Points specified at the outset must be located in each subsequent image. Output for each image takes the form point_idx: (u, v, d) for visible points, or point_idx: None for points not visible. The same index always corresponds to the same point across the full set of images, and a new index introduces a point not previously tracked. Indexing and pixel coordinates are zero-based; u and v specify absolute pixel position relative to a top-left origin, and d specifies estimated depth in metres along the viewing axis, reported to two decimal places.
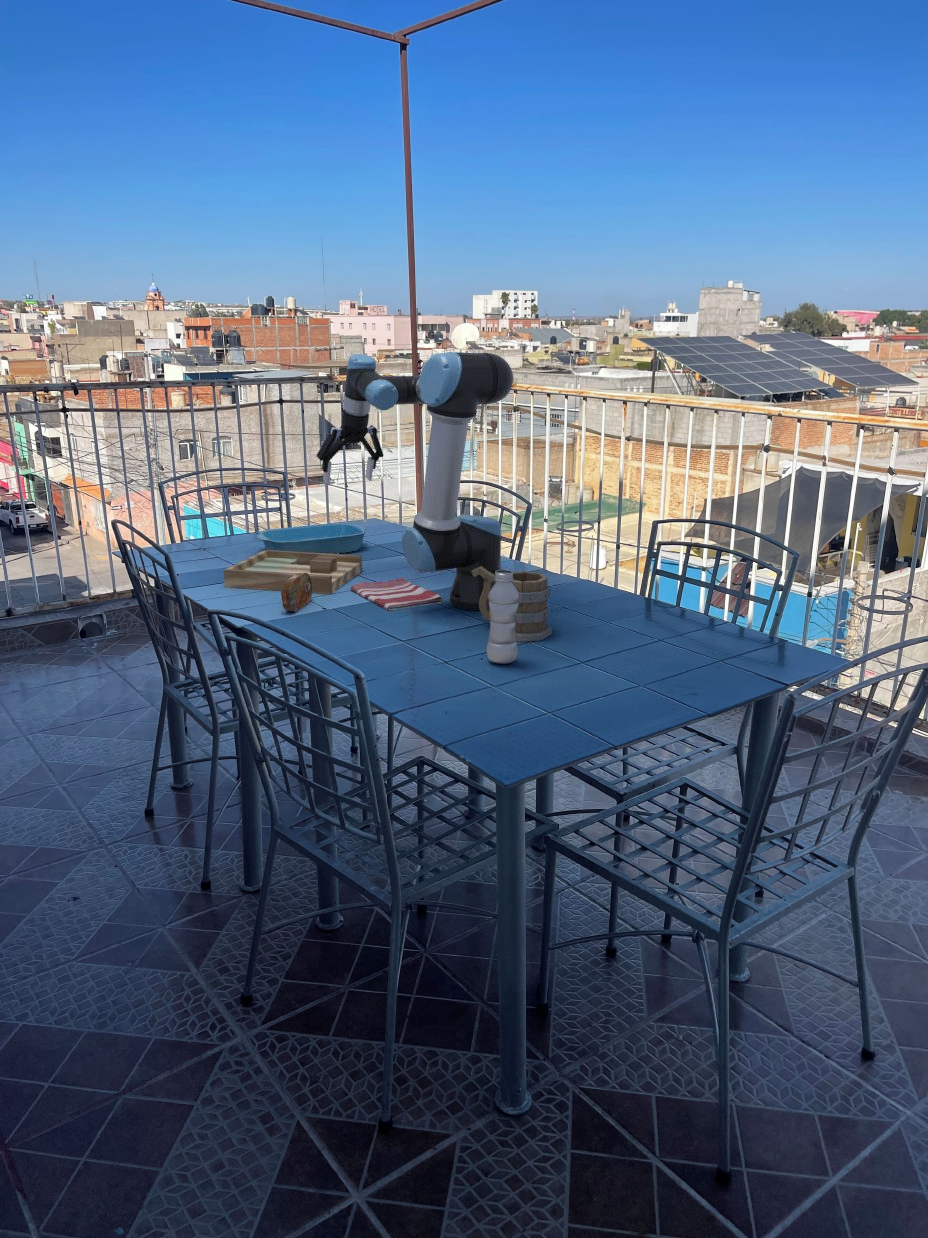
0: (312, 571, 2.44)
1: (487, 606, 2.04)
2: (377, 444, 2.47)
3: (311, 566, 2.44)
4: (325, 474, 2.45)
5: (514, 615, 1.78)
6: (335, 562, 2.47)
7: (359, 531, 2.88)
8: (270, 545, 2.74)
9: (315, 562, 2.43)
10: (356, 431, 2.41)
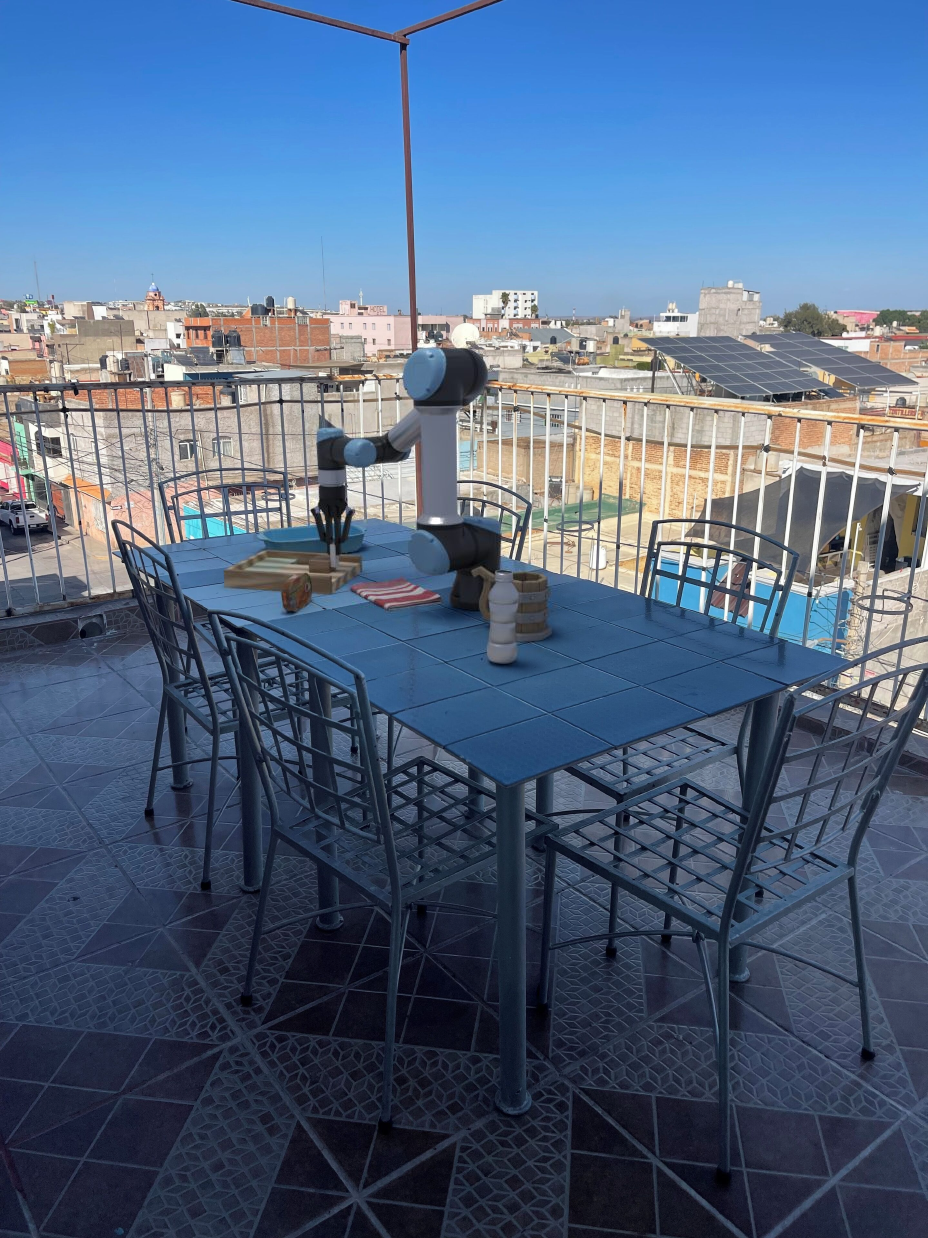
0: (311, 571, 2.44)
1: (487, 606, 2.04)
2: (344, 527, 2.40)
3: (310, 566, 2.44)
4: None
5: (514, 615, 1.78)
6: None
7: (360, 531, 2.88)
8: (269, 545, 2.74)
9: (314, 562, 2.43)
10: None
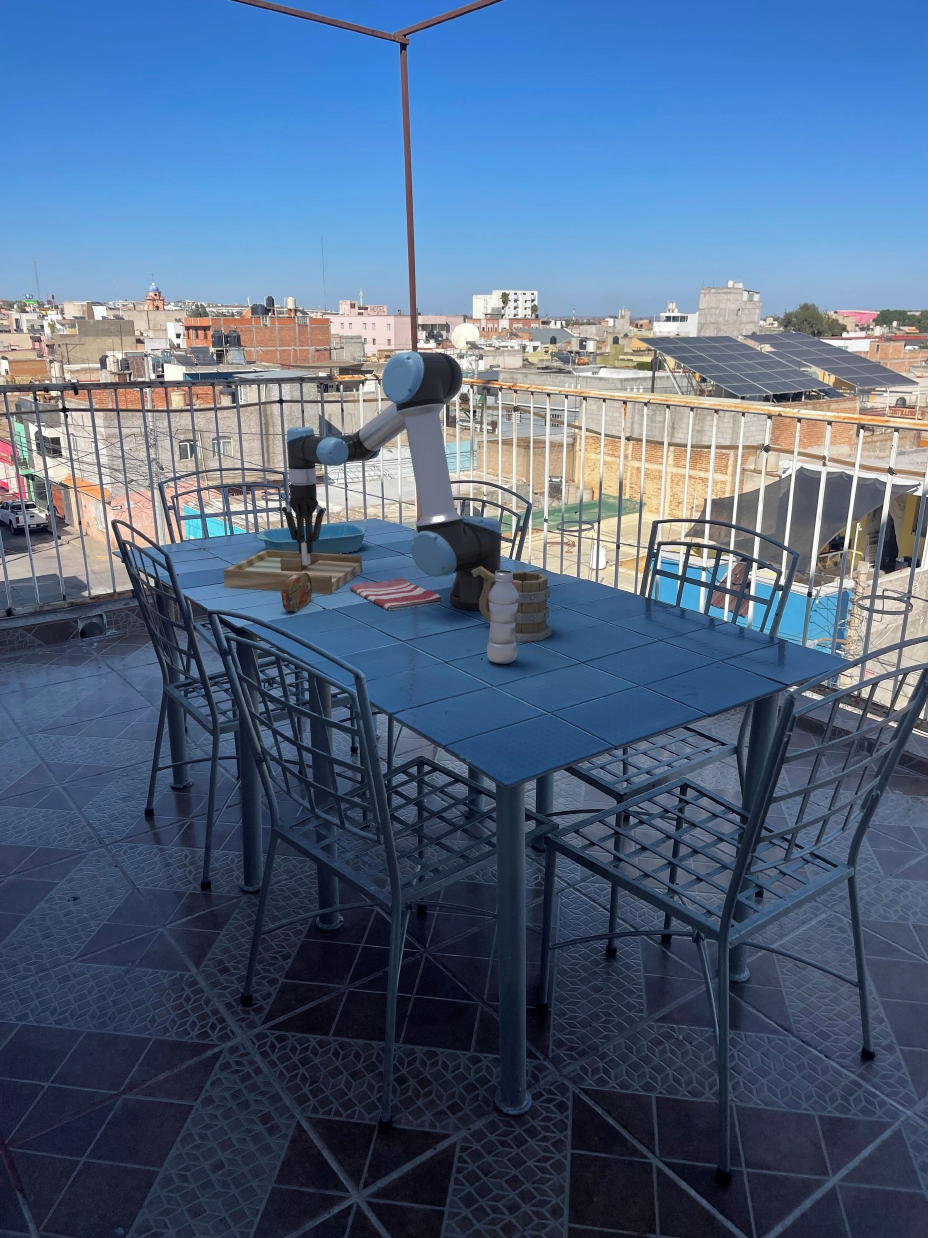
0: (283, 569, 2.46)
1: (487, 606, 2.04)
2: (315, 525, 2.42)
3: (282, 564, 2.46)
4: None
5: (514, 615, 1.78)
6: None
7: (360, 532, 2.87)
8: (269, 545, 2.74)
9: (286, 560, 2.45)
10: None
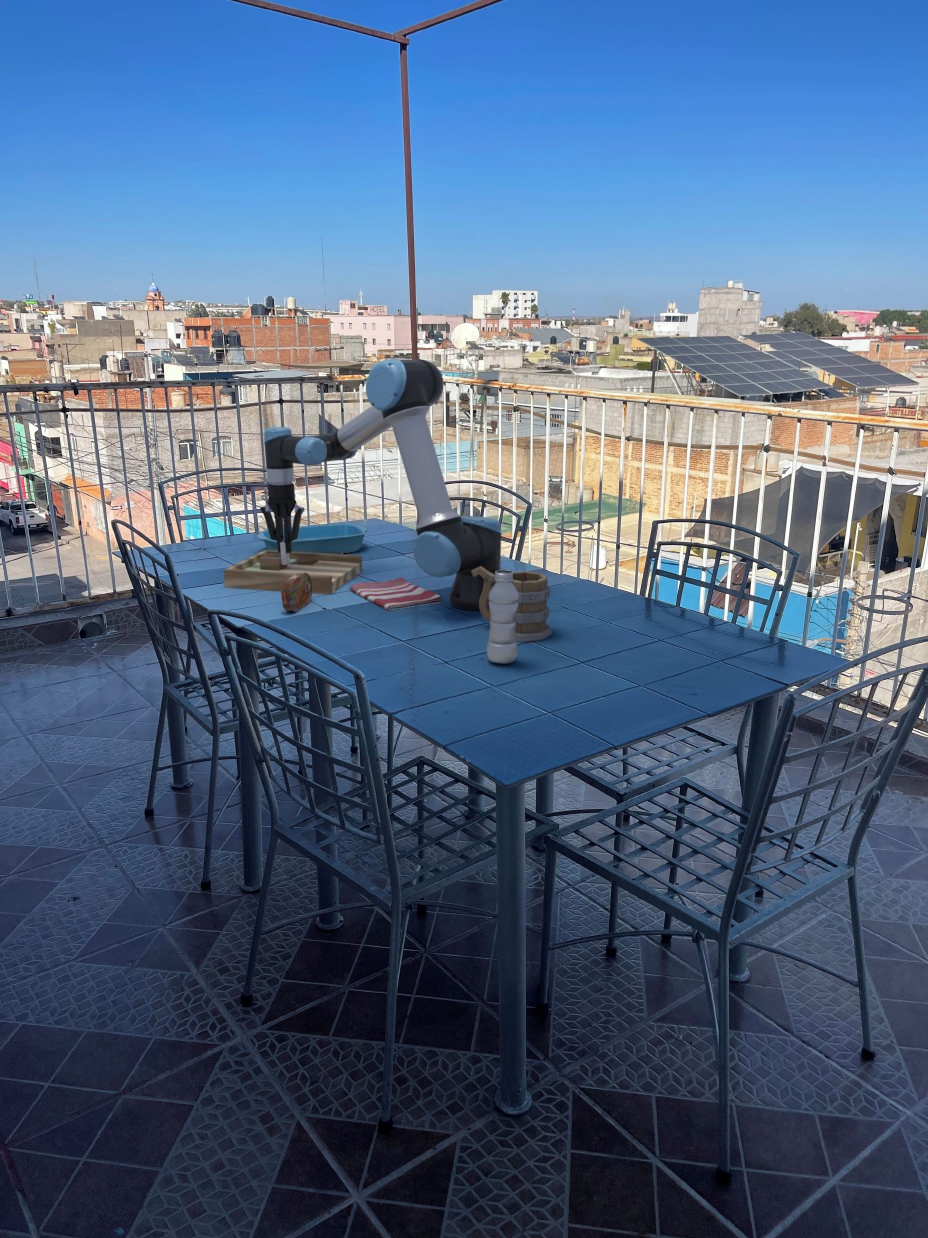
0: (262, 568, 2.47)
1: (487, 606, 2.04)
2: (293, 525, 2.43)
3: (261, 563, 2.47)
4: None
5: (514, 615, 1.78)
6: None
7: (360, 532, 2.87)
8: (268, 544, 2.74)
9: (265, 559, 2.46)
10: None
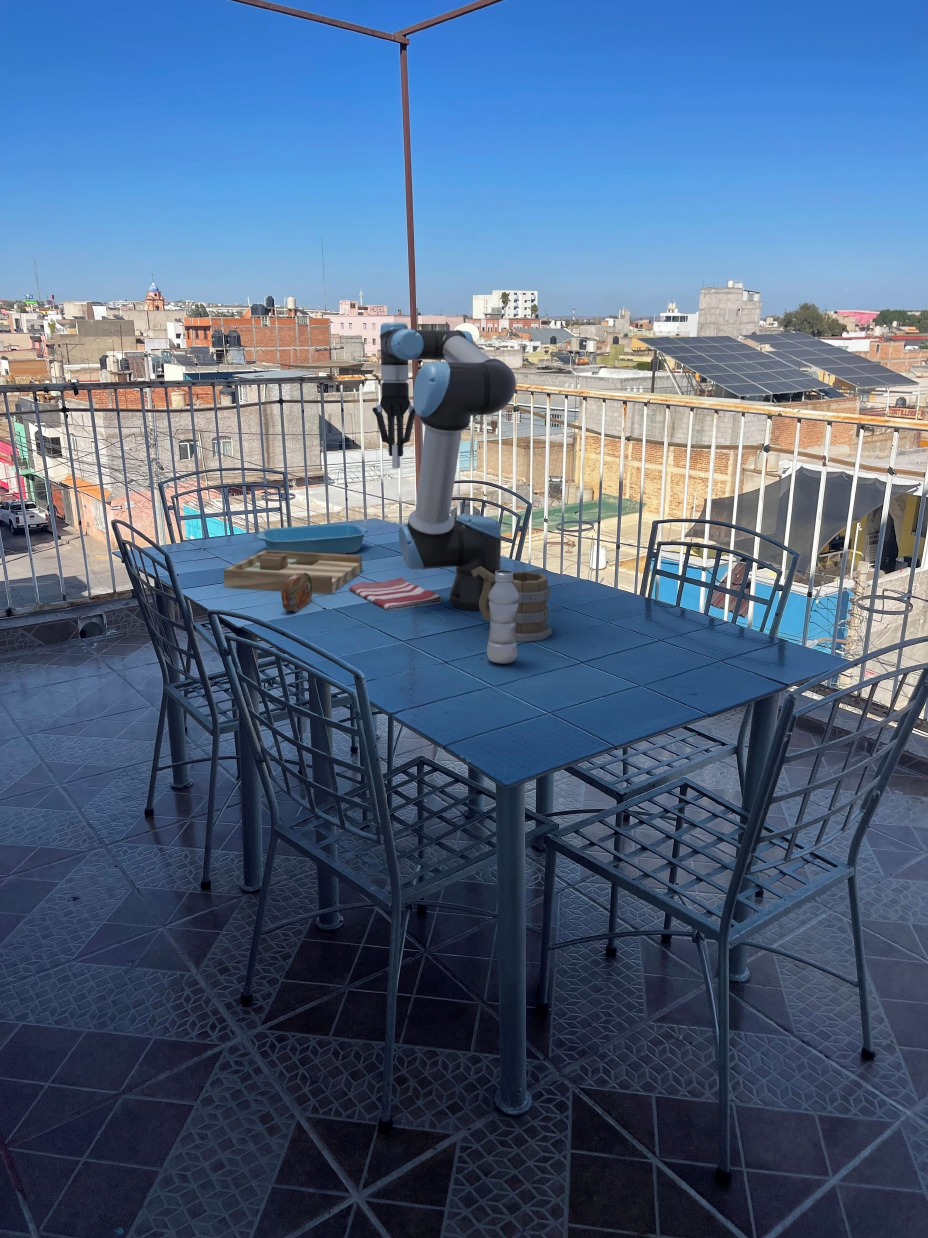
0: (262, 568, 2.47)
1: (487, 606, 2.04)
2: (407, 426, 2.36)
3: (261, 563, 2.47)
4: None
5: (514, 615, 1.78)
6: (285, 559, 2.50)
7: (360, 532, 2.86)
8: (267, 544, 2.75)
9: (265, 559, 2.46)
10: (397, 396, 2.34)
